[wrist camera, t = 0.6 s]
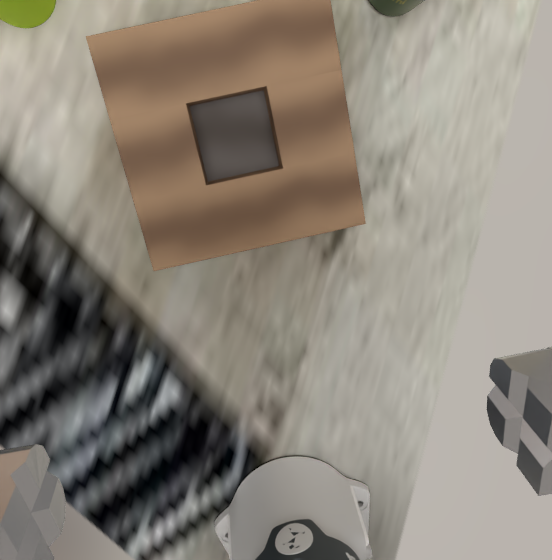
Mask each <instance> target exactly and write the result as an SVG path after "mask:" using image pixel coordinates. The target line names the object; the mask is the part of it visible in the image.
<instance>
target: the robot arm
mask: <svg viewBox="0 0 552 560" xmlns="http://www.w3.org/2000/svg"><path fill="white" fill-rule="evenodd" d="M489 376H490V378H491V379H492V381H493V382H494V383H495V384H496V386H495V387H494V388H493V389H492V391H491V392H490V393H489V394H488V396H487V412H488V417H489V421H490V425H491V427H492V429H493V431H494V433H495V435H496V437H497V438H498V440H499V441H500V443H501V444H502V446H504V447H506V448H508V449H510V450H511V451H513V452H516V453H517V454H518V457H517V467H518V468H519V469H520V471H521V472H522V474H523V475H524V476H525V478H526V479H527V480H528V482H529V483H530V485H531V486H532V487H533V489H534V490H535V491H536V493H537V494H538V496H541V495H547V494H552V347H548V348H546V349H541V350H536V351H530V352H525V353H521V354H516V355H510V356H505V357H500V358H495V359H494V360H493V362H492V363H491V365H490V375H489ZM49 461H50V459H49V457H48V455H47V453H46V451H45V449H44V447H43V446H41V445H37V444H35V445H29V446H23V447H16V448H10V449H4V450H0V560H54V556H53V554H52V552H51V550H50V549H49V546H50V545H51V544H52V543H53V542H54V541H55V540H56V539H57V537H58V536H59V535H60V534H61V532H62V528H63V524H64V520H65V504H66V500H65V495H64V491H63V487H62V485H61V482H60V480H59V478H58V477H56V476H54V475H53V474H51V473H49V472H47V471H46V470H47V467H48V464H49ZM359 501H361V502H360V503H358V502H359ZM369 510H370V492H369V488H368V486H367V485H366V484H364V483H362V482H359V481H356V480H352V479H349V478H346V477H344V476H343V475H342V474H340V473H339V472H338V471H337V470H336V469H334V468H333V467H332V466H330V465H328V464H327V463H325V462H322V461H320V460H317V459H313V458H308V457H285V458H280V459H276V460H273V461H270V462H268V463H266V464H264V465H262V466H260V467H258V468H257V469H255V470H254V471H253V472H252V473H250V474H249V475H248V476H247V477H246V478H245V479H244V481H243V482H242V483H241V484H240V486H239V488H238V489H237V491H236V493H235V496H234V498H233V500H232V502H231V504H230V506H229V507H228V508H226V509H225V510H224V511H223V512H222V513H221V514H220V515H219V516H218V517H217V519H216V520H215V524H214V525H215V532H216V534H217V536H218V537H219V539H220V541H221V543H222V544H223V546H224V548H225V550H226V551H227V553H228V555H229V559H230V560H372V559H371V558H372V549H371V546H370V544H369V540H368V531H369ZM227 533H228V534H227Z"/></svg>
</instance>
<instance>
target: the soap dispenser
mask: <svg viewBox="0 0 552 560" xmlns="http://www.w3.org/2000/svg"><path fill="white" fill-rule="evenodd" d="M55 3H56V0H0V19H1V20H3V21H5V22H6V23H8V24H10V25H13V26H16V27H20V28H32V27H36V26H38V25H40V24H42V23H44V22H45V21H46V20H47V19H48V18H49V17H50V15H51V14H52V12H53V10H54V7H55Z"/></svg>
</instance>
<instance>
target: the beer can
mask: <svg viewBox="0 0 552 560" xmlns="http://www.w3.org/2000/svg"><path fill="white" fill-rule="evenodd" d="M369 1H370V3H371V4H372V5H373V6H374V8H375V9H376V10H377V11H379V12H381V13H382V14H384V15H388V16H399V15H403V14H405V13H407V12H409V11H410V10H412V9H413V8H415V7H416V6H418V5H419V4H420V3H422V2H423V1H425V0H369Z"/></svg>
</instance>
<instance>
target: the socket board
mask: <svg viewBox="0 0 552 560" xmlns="http://www.w3.org/2000/svg"><path fill="white" fill-rule="evenodd" d="M86 39H87V42H88V46H89V49H90V53H91V56H92V59H93V63H94V66H95V70H96V73H97V77H98V80H99V84H100V87H101V91H102V94H103V98H104V101H105V104H106V108H107V111H108V115H109V118H110V122H111V125H112V129H113V132H114V136H115V139H116V142H117V146H118V149H119V153H120V156H121V160H122V163H123V167H124V170H125V174H126V177H127V180H128V184H129V187H130V191H131V194H132V198H133V201H134V205H135V208H136V212H137V215H138V218H139V222H140V225H141V229H142V232H143V236H144V239H145V243H146V246H147V250H148V253H149V256H150V260H151V263H152V267H153V270H154V271H157V270H161V269H166V268H170V267H175V266H179V265H184V264H188V263H192V262H197V261H201V260H206V259H210V258H215V257H219V256H224V255H228V254H233V253H237V252H242V251H246V250H250V249H255V248H259V247H264V246H268V245H273V244H277V243H282V242H286V241H291V240H295V239H300V238H304V237H309V236H313V235H317V234H322V233H326V232H331V231H335V230H340V229H344V228H349V227H353V226H358V225H362V224H366V223H365V216H364V210H363V204H362V197H361V191H360V185H359V178H358V172H357V166H356V159H355V153H354V147H353V140H352V134H351V128H350V121H349V115H348V109H347V102H346V96H345V90H344V83H343V77H342V71H341V64H340V58H339V52H338V45H337V39H336V33H335V26H334V20H333V14H332V8H331V1H330V0H257V1H253V2H248V3H243V4H238V5H234V6H229V7H224V8H219V9H215V10H210V11H205V12H200V13H196V14H191V15H186V16H181V17H177V18H172V19H167V20H162V21H158V22H153V23H148V24H143V25H139V26H134V27H129V28H124V29H120V30H115V31H110V32H105V33H101V34H96V35H91V36H86Z"/></svg>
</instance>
